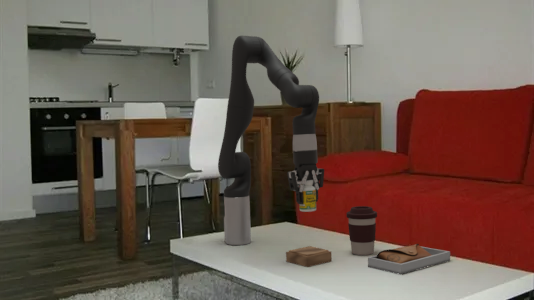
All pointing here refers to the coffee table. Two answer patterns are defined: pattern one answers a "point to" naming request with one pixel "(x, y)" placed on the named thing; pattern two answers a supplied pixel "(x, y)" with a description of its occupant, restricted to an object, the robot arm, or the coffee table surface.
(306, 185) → the supplement bottle
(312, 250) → the walnut base
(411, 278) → the coffee table surface
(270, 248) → the coffee table surface
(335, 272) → the coffee table surface
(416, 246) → the brown elongated piece
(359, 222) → the coffee cup
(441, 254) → the tray
